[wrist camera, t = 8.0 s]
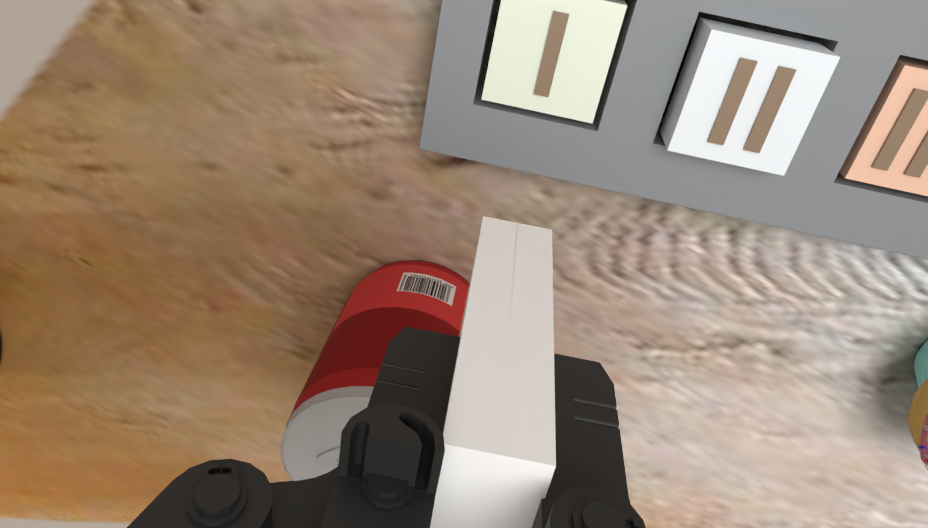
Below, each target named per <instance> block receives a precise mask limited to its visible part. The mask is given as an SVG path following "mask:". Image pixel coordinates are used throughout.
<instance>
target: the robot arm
mask: <svg viewBox="0 0 928 528" xmlns="http://www.w3.org/2000/svg"><path fill="white" fill-rule="evenodd" d="M0 354H1V343H0ZM618 426H619V421H618V414H617V410H616V399H615V391H614V384H613V382H612V381H611V379H610V378H609V376H608V375H607V373H606V372H605V370H604V369H603V367H602V365H601V364H600V363H599V362H594V361H589V360H584V359H579V358H574V357H569V356H564V355H559V354H554V317H553V257H552V230H551V229H546V228H541V227H536V226H531V225H526V224H520V223H515V222H510V221H505V220H500V219H495V218H490V217H485V216H483V219H482V224H481V229H480V234H479V239H478V244H477V249H476V254H475V259H474V264H473V269H472V274H471V279H470V284H469V289H468V294H467V299H466V304H465V309H464V314H463V319H462V325H461V330H460V335H459V337H458V336H453V335H448V334H443V333H438V332H433V331H427V330H422V329H417V328H412V327H407V326H406V327H405V328H404V329H403V330H402V331H400V332H399V333H398V334H397V335H396V336H395V337H394V338H393V339H391V340H390V341H389V343H388V346H387V349H386V352H385V355H384V358H383V361H382V366H381V367H380V370H379V373H378V376H377V380H376V383H375V385H374V388H373V391H372V394H371V397H370V400H369V403H368V406H367V408H365V409H363V410H362V411H360V412H359V413H357V414H355V415H354V416H352V417H351V418H350V419H349V421H348V422H347V424H346V425H345V427H344V428H343V430H342V433H341V443H340V454H339V465H338V466H337V467H336V468H334V469H333V470H331V471H330V472H328V473H326V474H323V475H320V476H318V477H315V478H310V479H305V480H299V481H287V482H275V483H269V481H268V479H267V477H266V476H265V474H264V473H263V472H262V471H260V470H259V469H257V468H256V467H254V466H253V465H251V464H250V463H246V462H242V461H237V460H233V459H224V460H211V461H207V462H205V463H202V464H199V465H197V466H194V467H191V468H189V469H188V470H186V471H185V472H184V473H182V474H181V475H180V476H178V477H177V478H176V479H174V480H173V481H172V482H171V483H170V484H169V485H168V486H167V487H166V488H165V489H164V490H163V491H162V492H161V493H160V494H159V495H158V496H157V497H156V498H155V499H154V500H153V501H152V502H151V503H150V505H149V506H148V507H147V508H146V509H145V510H144V511H143V512H142V513H141V514H140V515H139V516H138V517H137V518H136V519H135V520H134V521H133V522H132V523H131V524H130V525H129V526H128V527H127V528H646V527H645V524H644V522H643V519H642V518H641V517H640V516H639V515H638V513H637V512H636V511H635V510H634V508H633V507H632V506H631V504H630V501H629V497H628V490H627V482H626V474H625V467H624V459H623V452H622V444H621V436H620V429H618Z"/></svg>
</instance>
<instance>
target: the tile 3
mask: <svg viewBox="0 0 928 528" xmlns="http://www.w3.org/2000/svg"><path fill="white" fill-rule="evenodd" d="M839 172H840V174H841V175H842V176H843V177H844V178H846V179H850V180H855V181H859V182H864V183H869V184H873V185H878V186H882V187H887V188H892V189H896V190H901V191H905V192H910V193H915V194H919V195H924V196H928V62H927V61H923V60H918V59H914V58H909V57H904V56H899V58H898V60H897V62H896V64H895V65H894V67H893V69H892V71H891V73H890V75H889V77H888V79H887V81H886V83H885V85H884V87H883V88H882V90H881V92H880V94H879V96H878V98H877V100H876V102H875V104H874V106H873V108H872V110H871V111H870V113H869V115H868V117H867V119H866V121H865V123H864V125H863V127H862V129H861V131H860V133H859V134H858V136H857V138H856V140H855V142H854V144H853V146H852V148H851V150H850V152H849V154H848V156H847V157H846V159H845V161H844V163H843V165H842V167H841V169H840V171H839Z"/></svg>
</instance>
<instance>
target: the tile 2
mask: <svg viewBox="0 0 928 528" xmlns="http://www.w3.org/2000/svg"><path fill="white" fill-rule="evenodd" d="M839 59H840V56H838V55H837V54H835V53H833V52H832V51H830V50H829V49H827V48H826V47H824V46H823V45H821V44H820V43H816V42H812V41H807V40H802V39H798V38H793V37H788V36H784V35H779V34H774V33H770V32H765V31H760V30H756V29H751V28H746V27H742V26H737V25H732V24H728V23H723V22H718V21H714V20H709V19H705V18H700V19H699V22H698V25H697V28H696V30H695V33H694V36H693V39H692V42H691V45H690V47H689V50H688V53H687V56H686V59H685V62H684V64H683V67H682V70H681V73H680V76H679V79H678V81H677V84H676V87H675V90H674V93H673V96H672V98H671V101H670V104H669V107H668V110H667V112H666V115H665V118H664V121H663V124H662V127H661V129H660V133H661V136H662V138H663V141H664V143H665V146H666V148H667V151H672V152H676V153H681V154H686V155H690V156H695V157H700V158H704V159H709V160H713V161H718V162H723V163H727V164H732V165H736V166H741V167H746V168H750V169H755V170H759V171H764V172H769V173H773V174H778V175H783V176H784V175H785V173H786V170H787V168H788V166H789V164H790V162H791V160H792V158H793V156H794V154H795V152H796V149H797V147H798V145H799V143H800V141H801V139H802V137H803V135H804V133H805V131H806V128H807V126H808V124H809V122H810V120H811V118H812V116H813V114H814V112H815V109H816V107H817V105H818V103H819V101H820V99H821V97H822V95H823V93H824V91H825V88H826V86H827V84H828V82H829V80H830V78H831V76H832V74H833V72H834V70H835V67H836V65H837V63H838V61H839Z"/></svg>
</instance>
